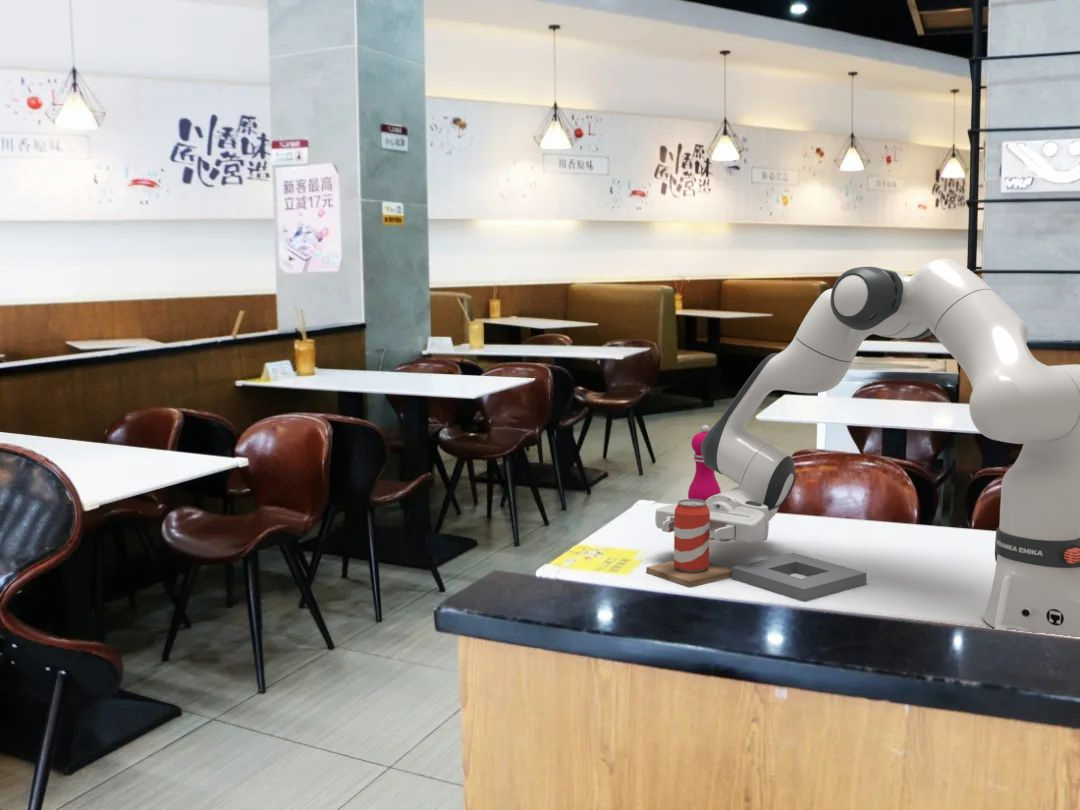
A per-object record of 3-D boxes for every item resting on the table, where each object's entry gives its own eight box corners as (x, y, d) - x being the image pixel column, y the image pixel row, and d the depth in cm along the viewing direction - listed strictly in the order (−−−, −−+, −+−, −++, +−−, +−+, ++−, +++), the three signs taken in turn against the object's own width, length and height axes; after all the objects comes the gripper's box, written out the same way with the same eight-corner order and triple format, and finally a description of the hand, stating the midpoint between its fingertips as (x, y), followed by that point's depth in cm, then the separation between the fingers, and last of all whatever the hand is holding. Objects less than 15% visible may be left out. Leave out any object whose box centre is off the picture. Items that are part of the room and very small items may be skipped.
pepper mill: (720, 518, 224) (721, 427, 222) (686, 517, 226) (687, 427, 223) (721, 511, 231) (722, 423, 229) (688, 510, 233) (689, 422, 230)
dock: (866, 583, 176) (866, 572, 176) (803, 601, 167) (804, 589, 167) (792, 563, 189) (793, 552, 189) (731, 578, 180) (731, 567, 180)
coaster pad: (735, 576, 181) (735, 570, 181) (689, 587, 175) (689, 581, 175) (691, 562, 190) (691, 557, 190) (646, 572, 184) (646, 567, 184)
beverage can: (666, 569, 182) (667, 502, 181) (688, 562, 187) (688, 496, 185) (694, 576, 178) (695, 507, 177) (716, 568, 183) (717, 501, 181)
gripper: (676, 493, 198) (638, 506, 187) (776, 506, 185) (741, 521, 174) (676, 525, 198) (638, 540, 187) (775, 541, 186) (740, 557, 175)
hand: (688, 531), depth 181 cm, fingers open, 8 cm apart
